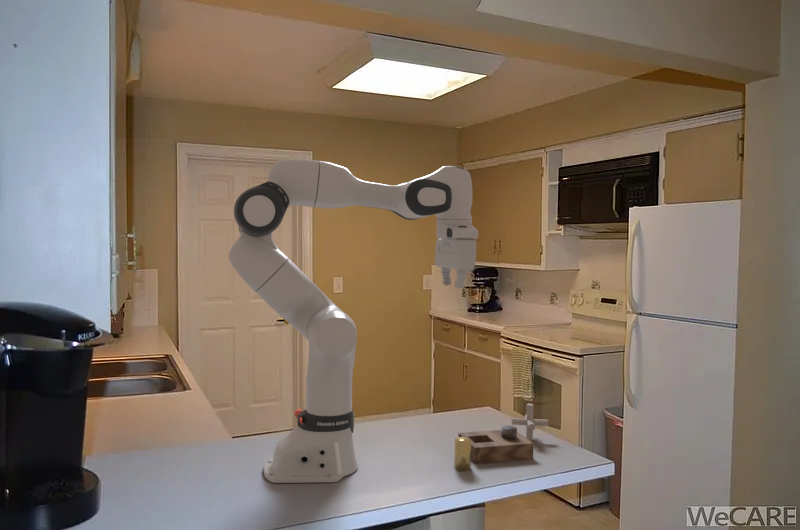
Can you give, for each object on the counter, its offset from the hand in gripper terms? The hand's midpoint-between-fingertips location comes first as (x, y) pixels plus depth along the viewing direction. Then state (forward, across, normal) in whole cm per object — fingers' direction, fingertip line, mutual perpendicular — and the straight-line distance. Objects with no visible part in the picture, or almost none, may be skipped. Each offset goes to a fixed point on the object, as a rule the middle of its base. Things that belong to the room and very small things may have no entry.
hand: (453, 286), depth 152 cm
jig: (+44, -2, +13) cm, 46 cm away
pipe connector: (+44, -10, +27) cm, 53 cm away
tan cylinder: (+44, +6, +1) cm, 45 cm away
